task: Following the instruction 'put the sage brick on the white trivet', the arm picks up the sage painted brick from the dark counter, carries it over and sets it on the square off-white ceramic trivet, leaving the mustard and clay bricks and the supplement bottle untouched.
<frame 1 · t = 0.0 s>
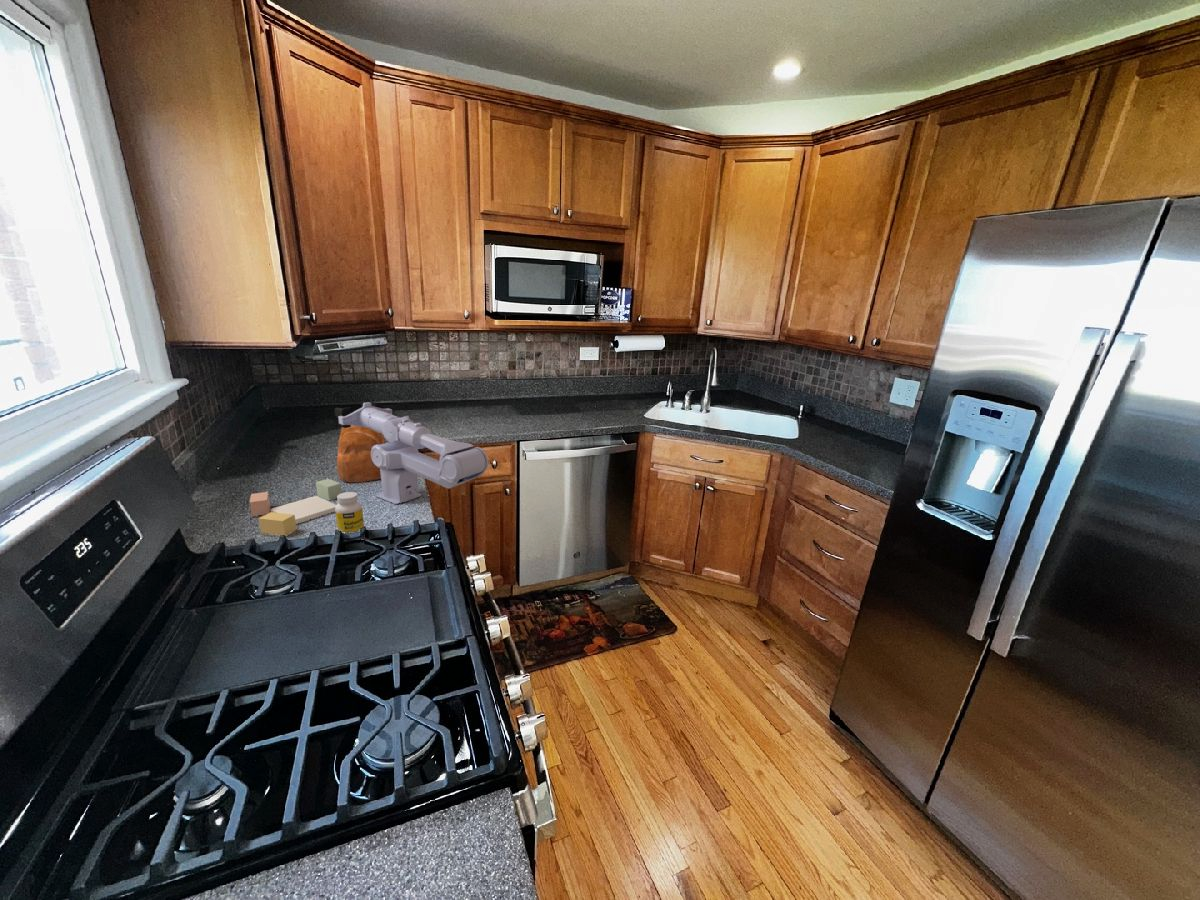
hand: (349, 409, 134), 22 cm above the countertop, tool horizontal, fingers open, 7 cm apart
clay brick: (261, 511, 118), on the countertop
bread: (365, 469, 151), on the countertop
supplement bottle: (351, 535, 108), on the countertop
trivet: (305, 511, 119), on the countertop
mustard brick: (279, 532, 108), on the countertop
sage brick: (329, 496, 129), on the countertop
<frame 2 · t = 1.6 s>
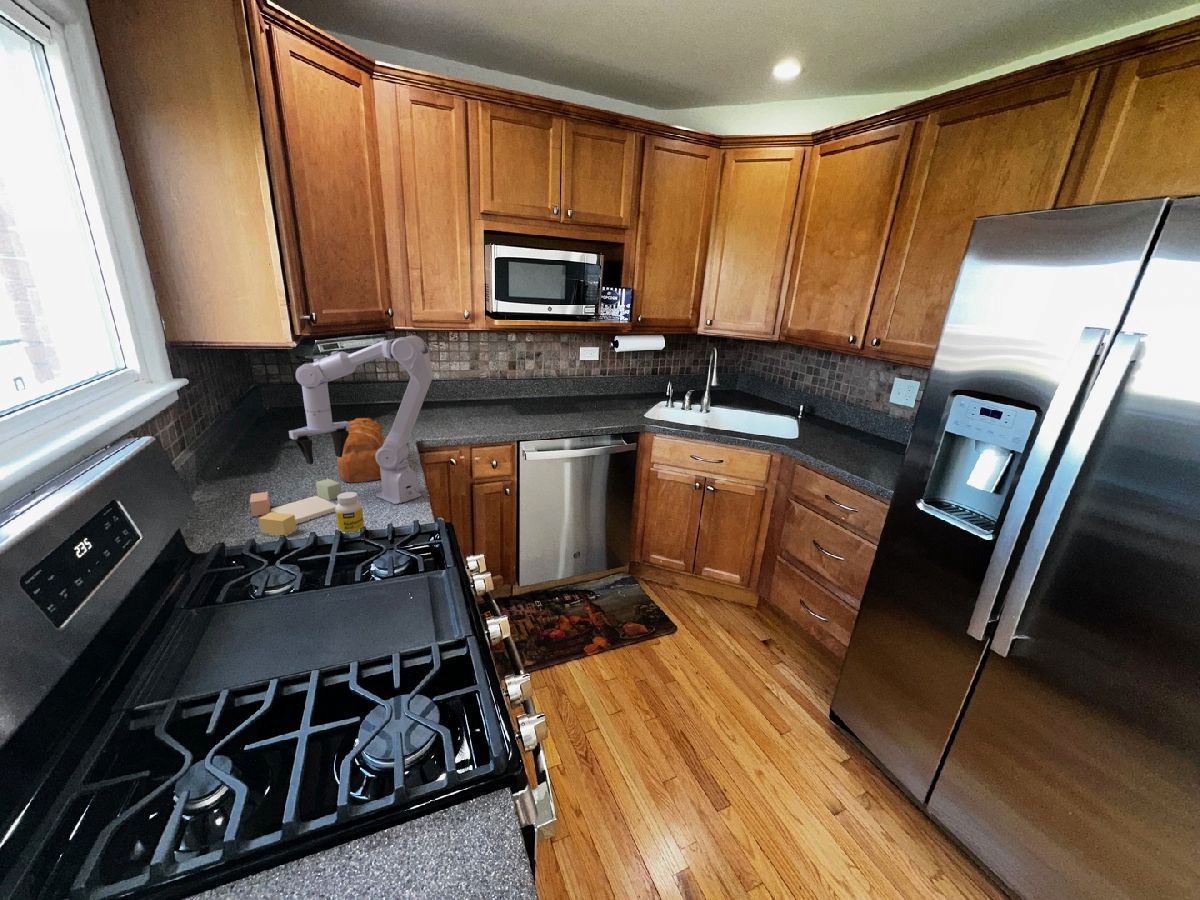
hand: (324, 459, 126), 10 cm above the countertop, tool pointing down, fingers open, 7 cm apart
nothing on the countertop moved.
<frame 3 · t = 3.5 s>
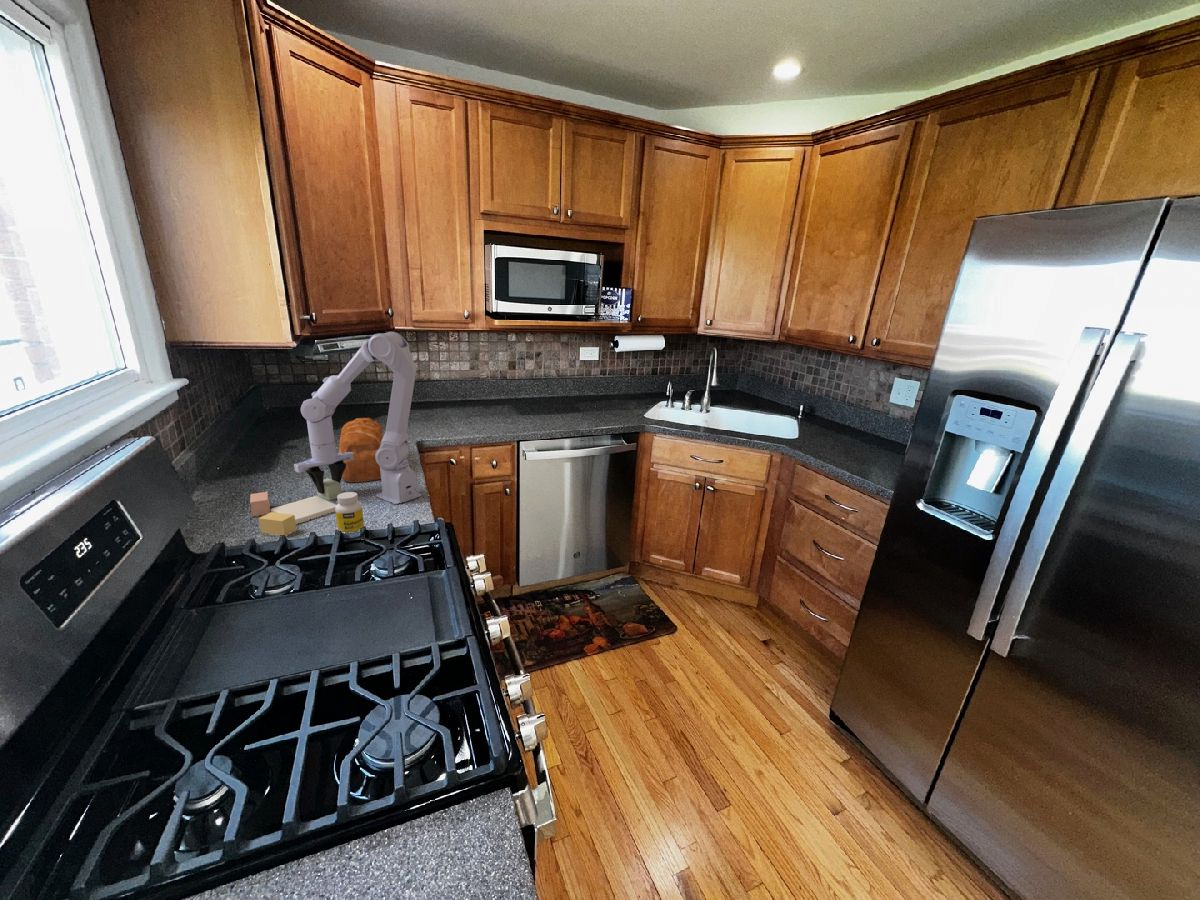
hand: (329, 490, 128), 2 cm above the countertop, tool pointing down, fingers closed on sage brick, 3 cm apart
sage brick: (329, 496, 129), on the countertop, touching gripper
everything else where it was.
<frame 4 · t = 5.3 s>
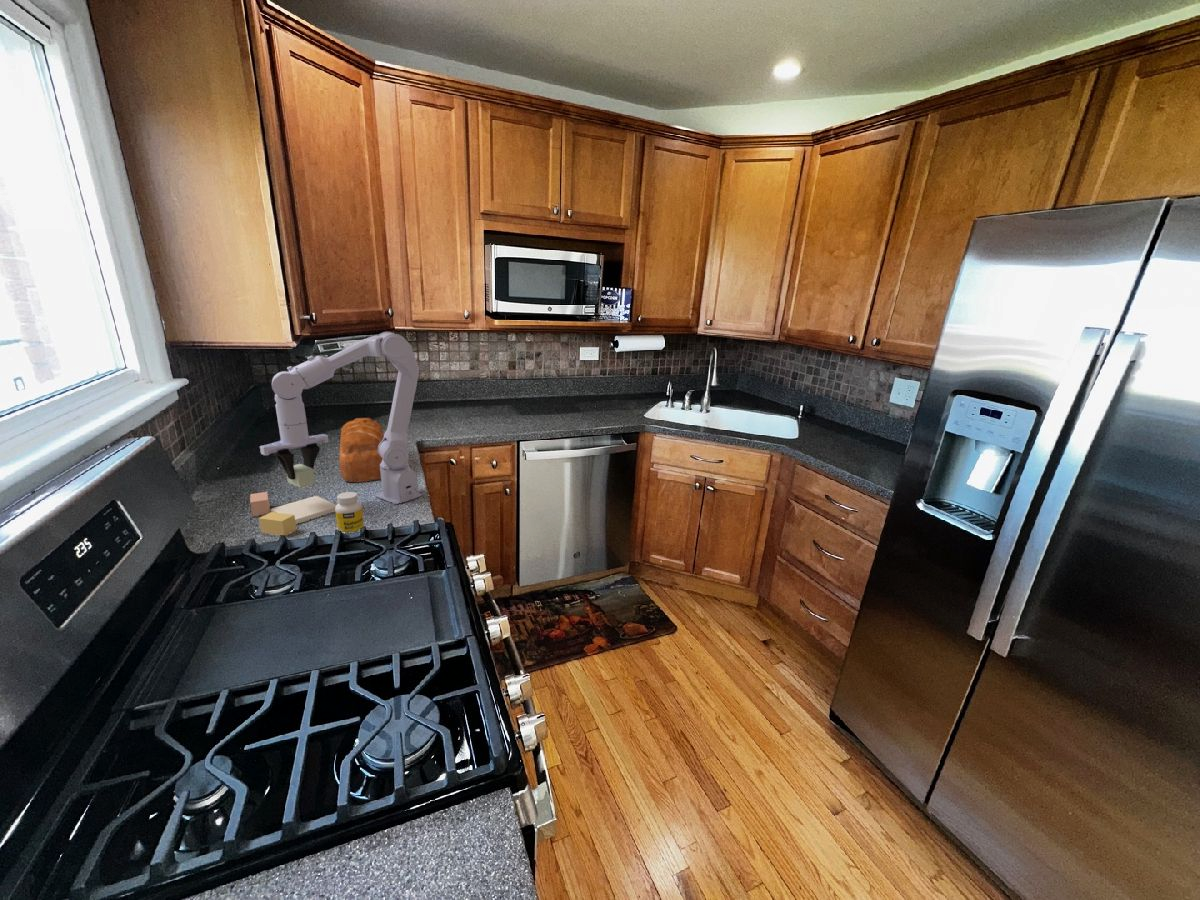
hand: (300, 476, 116), 9 cm above the countertop, tool pointing down, fingers closed on sage brick, 3 cm apart
sage brick: (301, 483, 117), point 8 cm above the countertop, touching gripper
everything else where it was.
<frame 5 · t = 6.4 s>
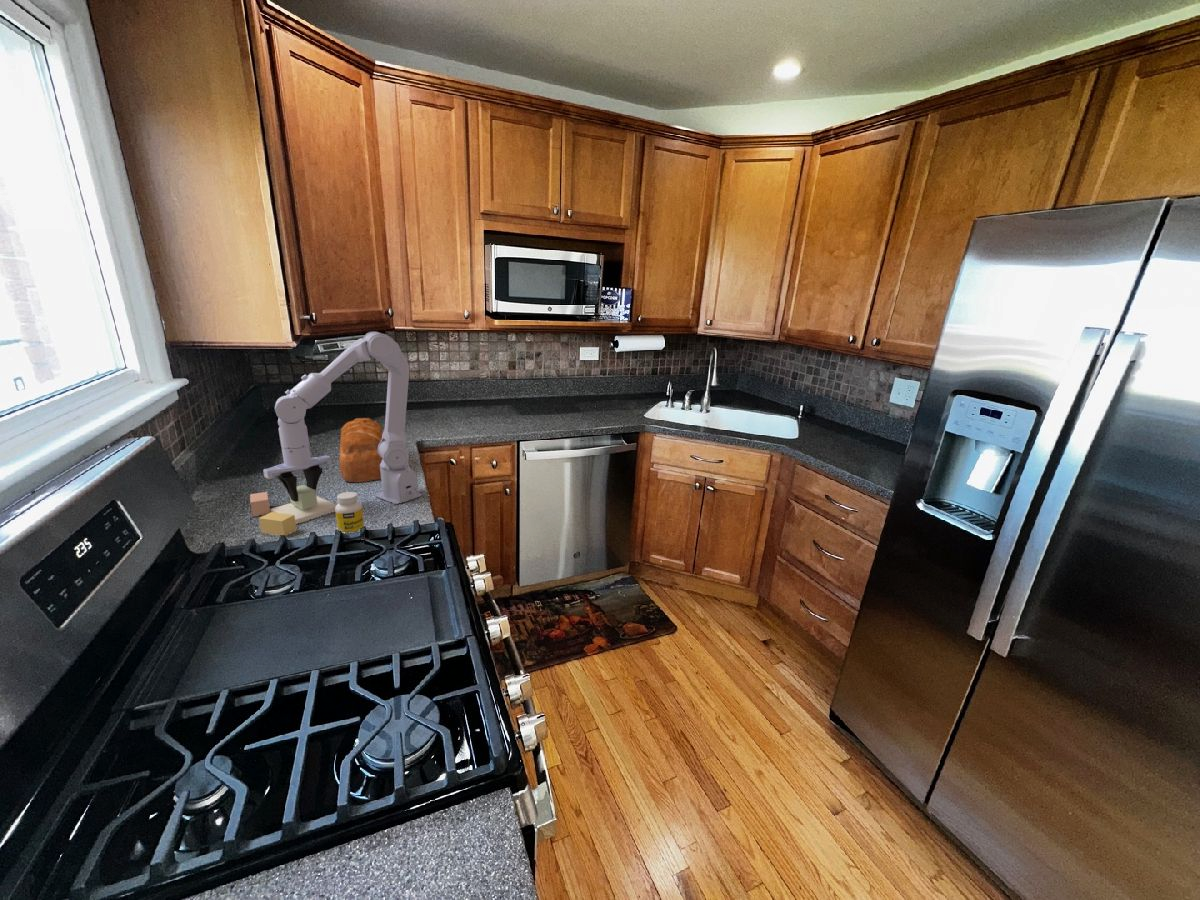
hand: (303, 497, 118), 4 cm above the countertop, tool pointing down, fingers closed on sage brick, 3 cm apart
sage brick: (304, 504, 118), point 2 cm above the countertop, touching gripper
everything else where it was.
when the fingers open (4 cm above the countertop, at t = 7.2 s): sage brick stays where it is, resting on trivet.
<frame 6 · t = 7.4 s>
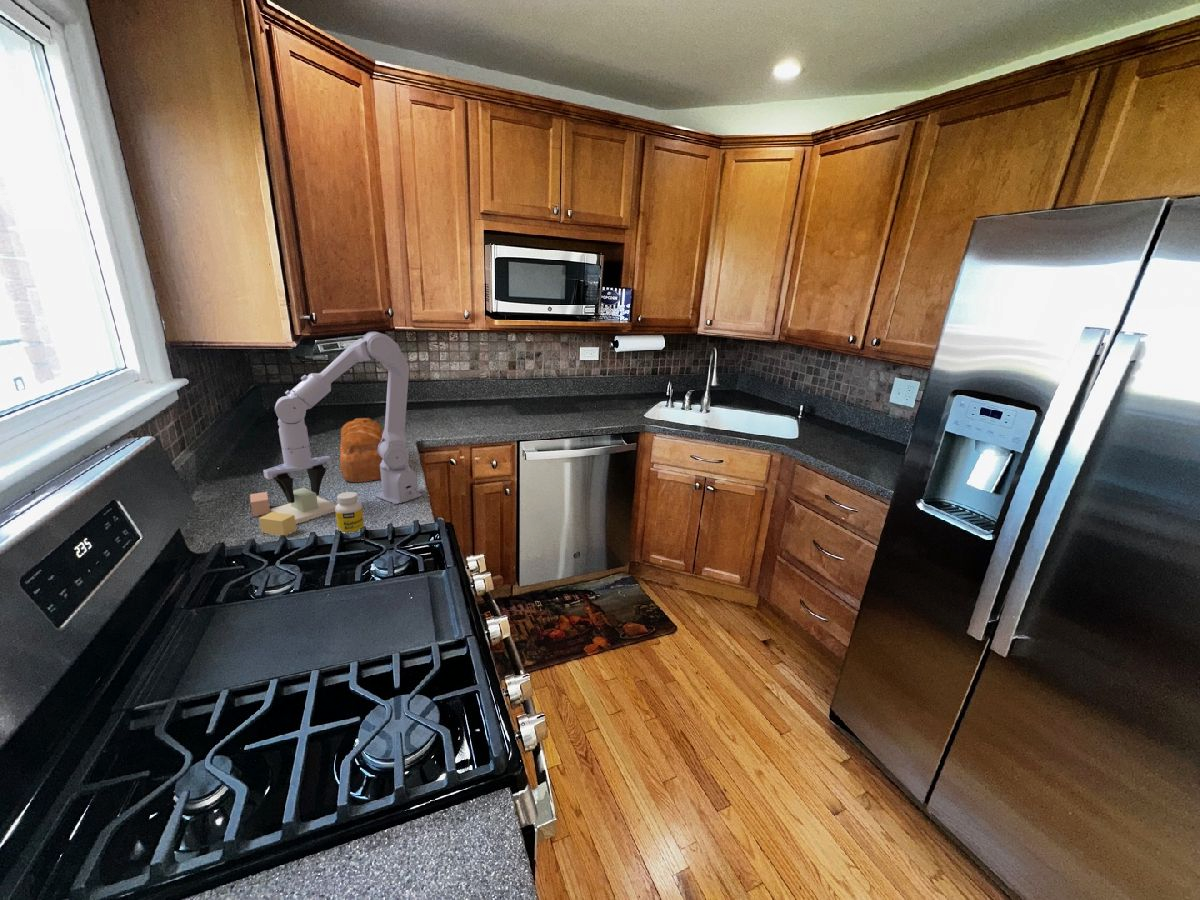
hand: (303, 498, 118), 4 cm above the countertop, tool pointing down, fingers open, 5 cm apart
sage brick: (304, 507, 119), point 1 cm above the countertop, touching trivet
everything else where it was.
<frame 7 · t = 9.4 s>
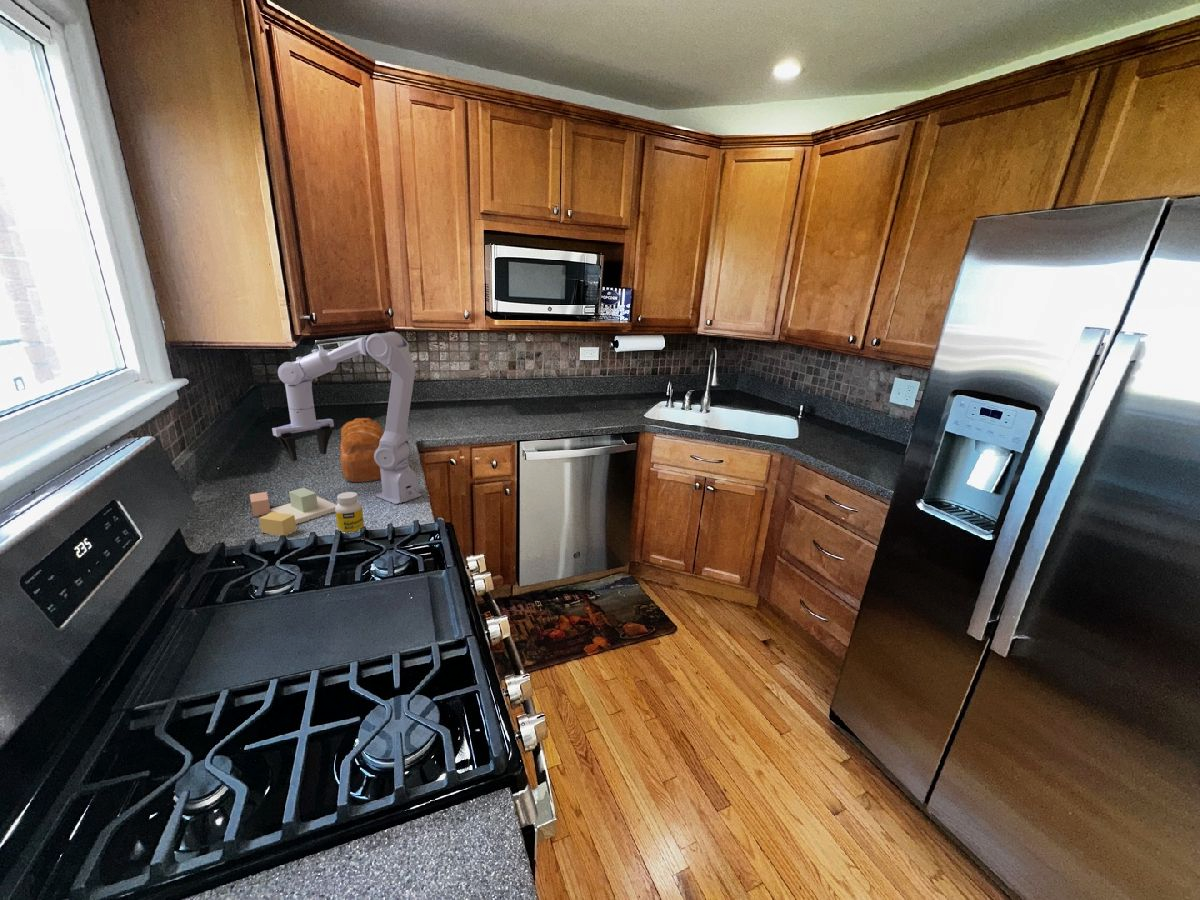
hand: (308, 456, 128), 10 cm above the countertop, tool pointing down, fingers open, 7 cm apart
nothing on the countertop moved.
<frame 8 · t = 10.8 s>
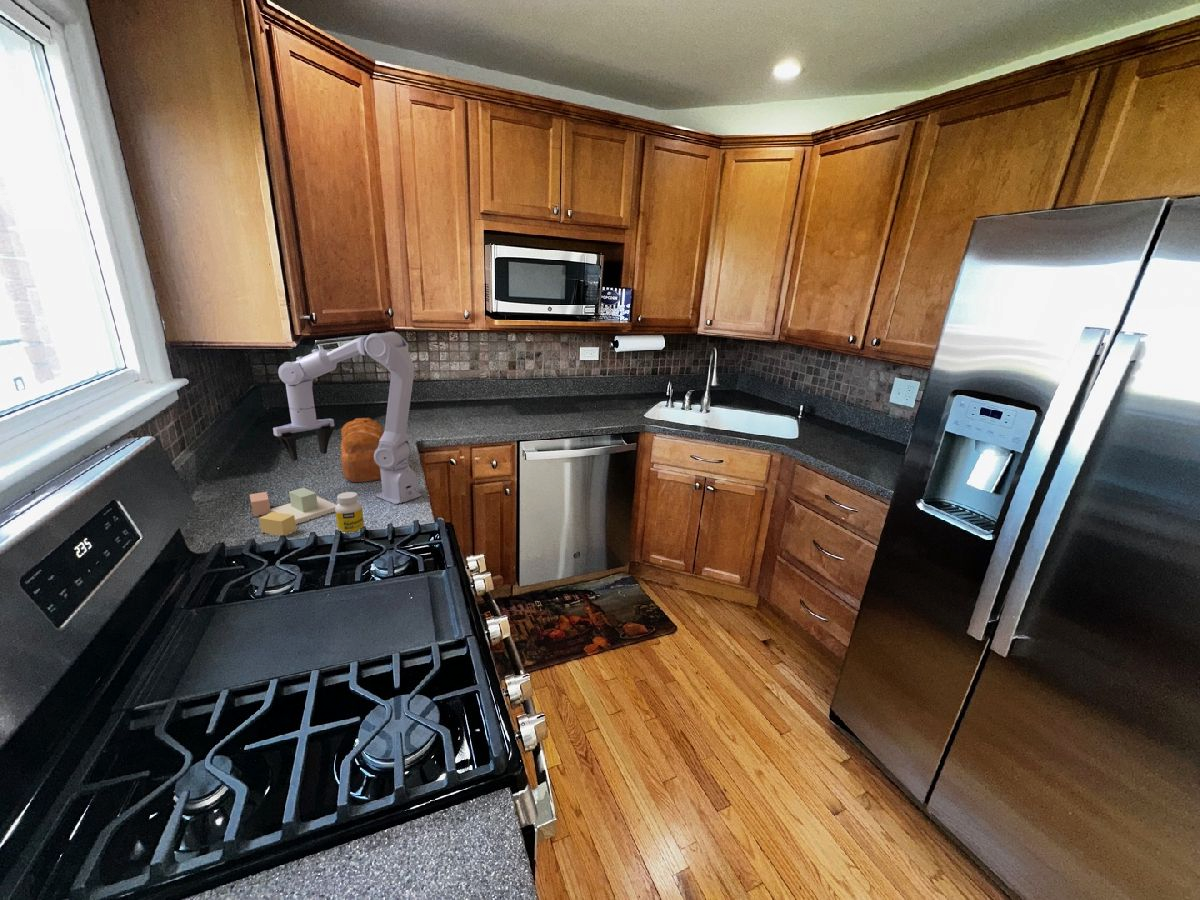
hand: (309, 456, 128), 10 cm above the countertop, tool pointing down, fingers open, 7 cm apart
nothing on the countertop moved.
at the end: sage brick inside the target area on the trivet (0.2 cm from its centre), point 1.2 cm above the trivet's base; mustard brick moved 0.2 cm from its start; clay brick moved 0.4 cm from its start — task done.
